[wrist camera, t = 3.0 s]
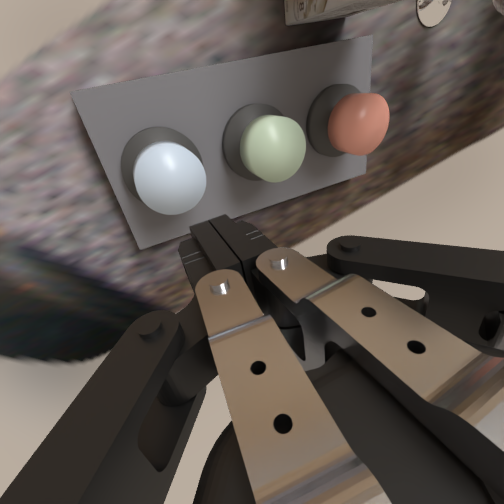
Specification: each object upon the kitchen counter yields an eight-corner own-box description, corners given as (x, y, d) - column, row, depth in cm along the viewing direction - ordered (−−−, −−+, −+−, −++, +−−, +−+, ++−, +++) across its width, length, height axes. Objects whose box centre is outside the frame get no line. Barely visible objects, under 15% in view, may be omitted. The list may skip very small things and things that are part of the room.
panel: (356, 38, 26) (380, 33, 24) (353, 169, 32) (371, 175, 30) (72, 92, 20) (68, 91, 18) (138, 240, 26) (140, 254, 24)
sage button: (289, 108, 22) (303, 110, 20) (294, 167, 24) (307, 173, 23) (234, 122, 21) (244, 125, 19) (245, 183, 23) (255, 189, 22)
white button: (189, 133, 20) (196, 137, 18) (205, 195, 22) (213, 203, 21) (121, 150, 19) (122, 155, 17) (147, 213, 21) (150, 223, 20)
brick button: (373, 88, 24) (392, 87, 22) (369, 144, 27) (386, 148, 25) (327, 99, 23) (343, 100, 21) (328, 157, 25) (342, 162, 24)
